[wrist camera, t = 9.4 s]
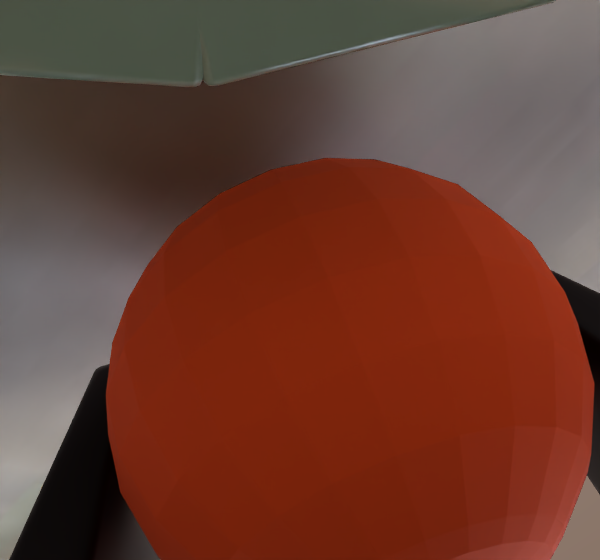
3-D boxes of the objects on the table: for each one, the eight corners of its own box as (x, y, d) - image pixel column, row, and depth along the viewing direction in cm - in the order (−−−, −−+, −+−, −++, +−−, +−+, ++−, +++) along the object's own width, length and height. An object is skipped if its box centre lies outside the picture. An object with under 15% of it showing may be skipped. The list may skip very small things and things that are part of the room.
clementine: (443, 328, 14) (635, 626, 9) (191, 420, 14) (254, 785, 9) (445, 19, 9) (934, 362, 4) (16, 157, 8) (-78, 762, 3)
